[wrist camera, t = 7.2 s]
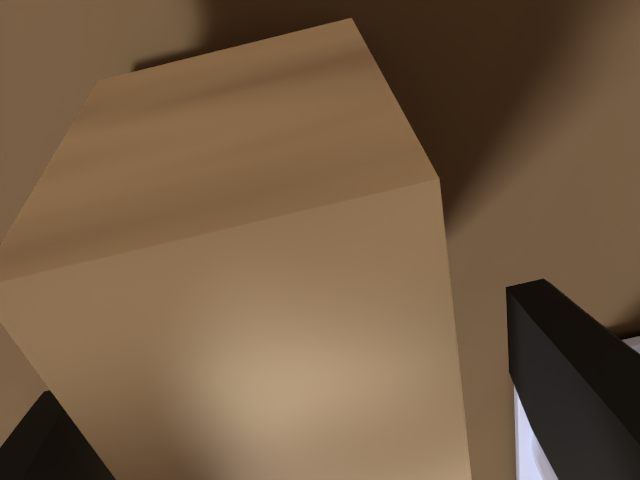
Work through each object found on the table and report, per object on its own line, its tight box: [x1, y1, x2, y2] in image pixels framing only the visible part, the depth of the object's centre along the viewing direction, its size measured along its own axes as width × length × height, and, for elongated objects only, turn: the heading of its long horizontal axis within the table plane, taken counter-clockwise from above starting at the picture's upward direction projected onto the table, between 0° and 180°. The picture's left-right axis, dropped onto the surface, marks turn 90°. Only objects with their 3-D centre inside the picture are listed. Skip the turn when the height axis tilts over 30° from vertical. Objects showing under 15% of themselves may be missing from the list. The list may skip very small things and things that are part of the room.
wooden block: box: [0, 18, 471, 480], centre depth 10 cm, size 8×4×6 cm, turn 12°
